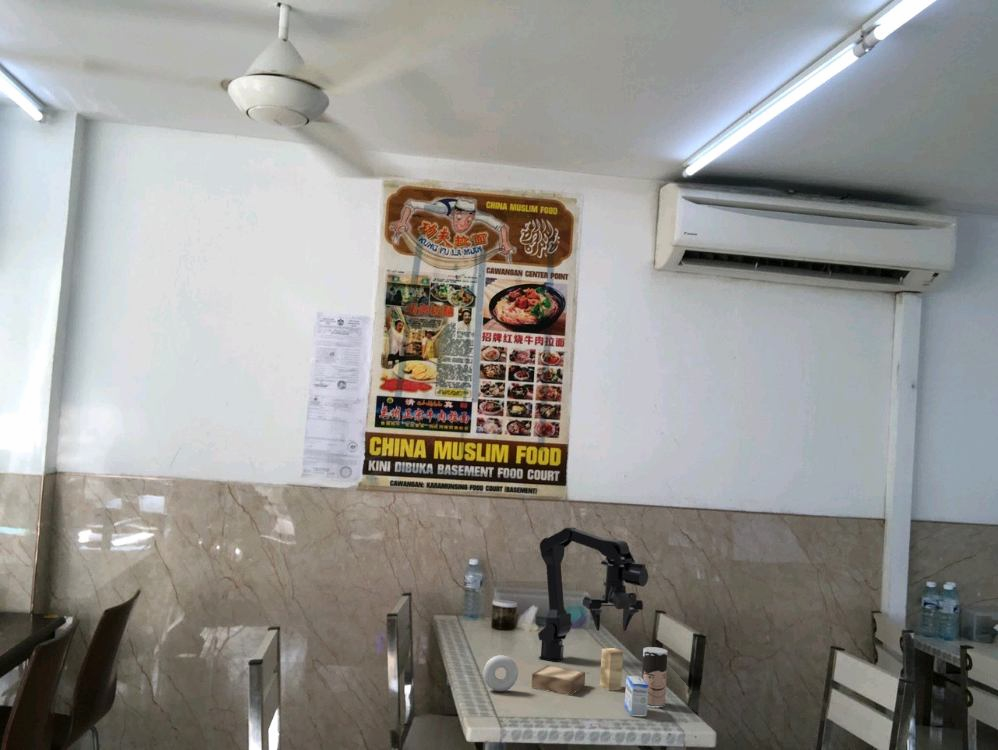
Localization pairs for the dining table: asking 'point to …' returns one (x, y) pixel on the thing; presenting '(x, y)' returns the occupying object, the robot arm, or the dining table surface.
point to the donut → (493, 666)
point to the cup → (655, 674)
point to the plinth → (558, 679)
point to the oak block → (611, 668)
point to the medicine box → (636, 695)
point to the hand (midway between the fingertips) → (611, 630)
